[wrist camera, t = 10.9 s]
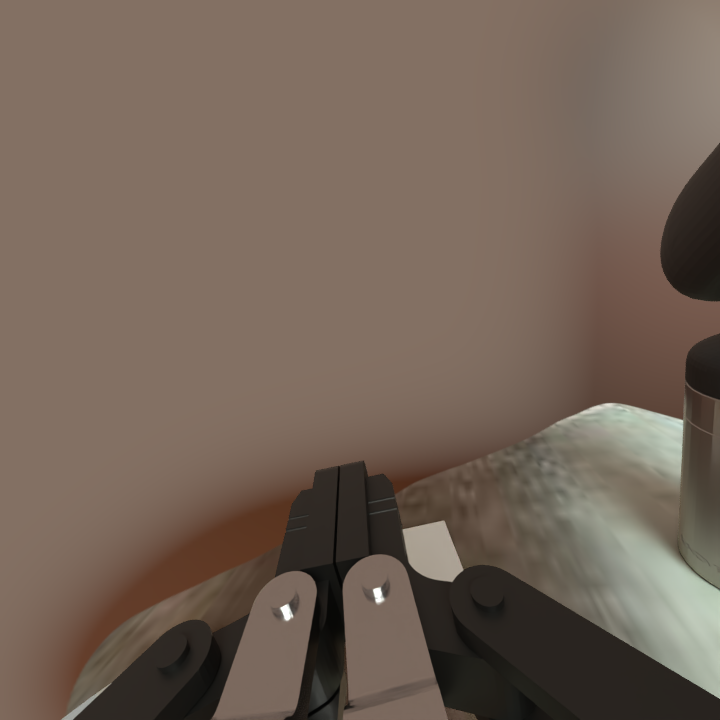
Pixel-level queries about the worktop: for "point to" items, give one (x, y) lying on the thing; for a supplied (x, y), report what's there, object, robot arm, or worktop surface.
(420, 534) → the grey mat
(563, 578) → the worktop surface
